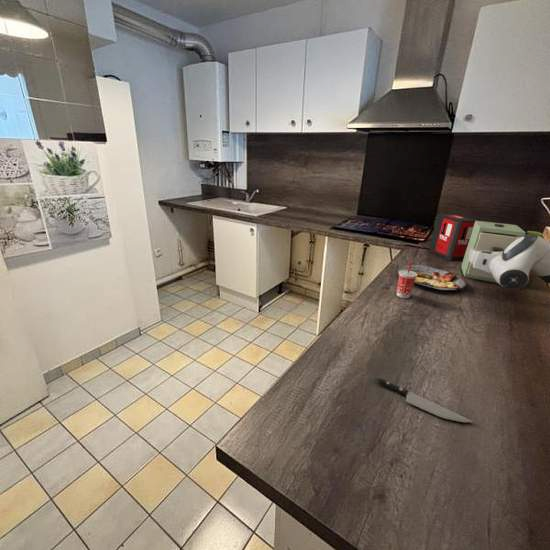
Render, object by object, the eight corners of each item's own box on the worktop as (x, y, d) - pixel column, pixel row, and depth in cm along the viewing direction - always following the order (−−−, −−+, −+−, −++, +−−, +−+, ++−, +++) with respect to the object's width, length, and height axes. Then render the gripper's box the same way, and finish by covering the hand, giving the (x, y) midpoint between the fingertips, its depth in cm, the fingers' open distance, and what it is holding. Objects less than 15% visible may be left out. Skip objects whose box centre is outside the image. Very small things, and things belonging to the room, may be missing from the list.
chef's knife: (472, 434, 55) (473, 422, 57) (474, 430, 54) (475, 418, 57) (372, 387, 65) (376, 379, 67) (373, 384, 64) (377, 375, 66)
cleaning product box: (465, 260, 146) (478, 220, 139) (450, 260, 145) (462, 221, 137) (442, 249, 161) (452, 213, 153) (428, 250, 160) (438, 213, 152)
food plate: (467, 280, 123) (470, 272, 121) (460, 300, 105) (463, 292, 104) (405, 265, 136) (407, 258, 135) (390, 281, 119) (392, 273, 117)
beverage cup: (413, 294, 108) (422, 259, 103) (410, 300, 104) (419, 264, 98) (396, 290, 112) (403, 255, 106) (392, 296, 107) (400, 260, 101)
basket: (508, 284, 115) (526, 240, 108) (468, 277, 120) (482, 235, 113) (500, 270, 129) (514, 230, 122) (464, 264, 135) (476, 226, 128)
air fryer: (505, 284, 120) (526, 231, 111) (464, 276, 126) (480, 225, 117) (499, 272, 132) (517, 223, 123) (461, 266, 138) (475, 219, 129)
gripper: (543, 261, 99) (531, 250, 110) (473, 251, 107) (469, 241, 118) (535, 278, 101) (525, 265, 113) (468, 266, 109) (464, 256, 121)
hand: (495, 253), depth 116 cm, fingers closed on basket, 3 cm apart
